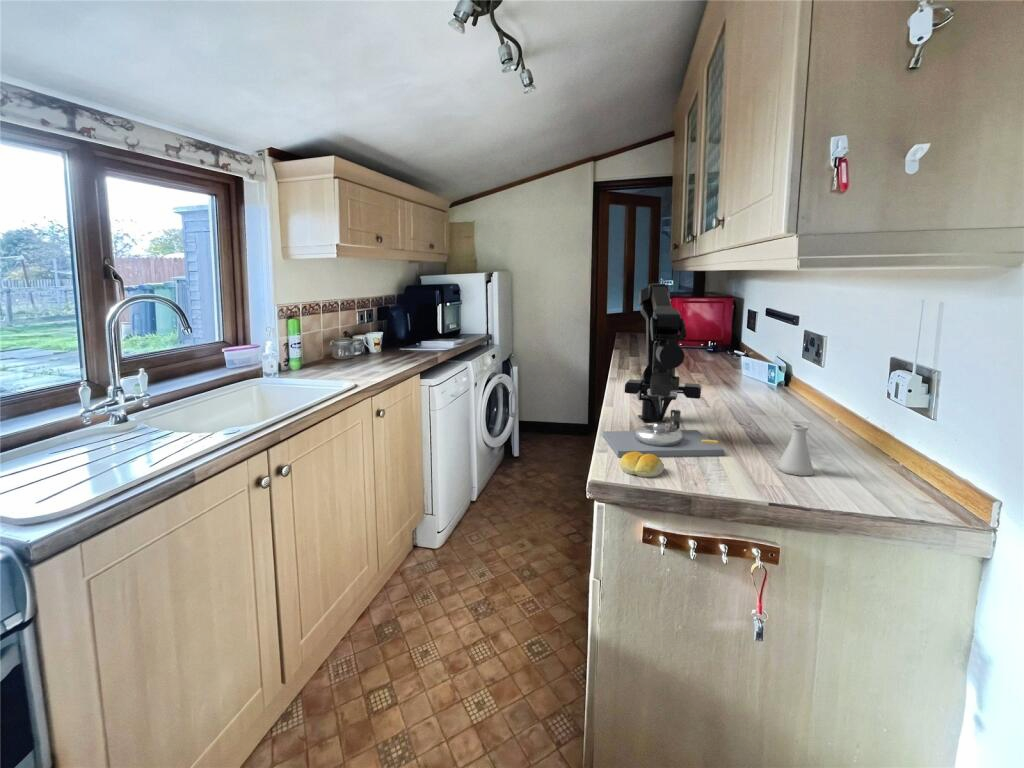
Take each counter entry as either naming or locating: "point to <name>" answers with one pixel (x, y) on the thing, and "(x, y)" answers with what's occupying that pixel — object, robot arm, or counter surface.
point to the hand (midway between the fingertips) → (660, 420)
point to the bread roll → (641, 464)
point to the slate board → (689, 446)
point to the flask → (797, 454)
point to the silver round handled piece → (661, 432)
